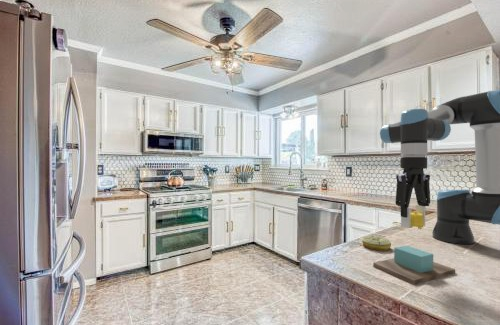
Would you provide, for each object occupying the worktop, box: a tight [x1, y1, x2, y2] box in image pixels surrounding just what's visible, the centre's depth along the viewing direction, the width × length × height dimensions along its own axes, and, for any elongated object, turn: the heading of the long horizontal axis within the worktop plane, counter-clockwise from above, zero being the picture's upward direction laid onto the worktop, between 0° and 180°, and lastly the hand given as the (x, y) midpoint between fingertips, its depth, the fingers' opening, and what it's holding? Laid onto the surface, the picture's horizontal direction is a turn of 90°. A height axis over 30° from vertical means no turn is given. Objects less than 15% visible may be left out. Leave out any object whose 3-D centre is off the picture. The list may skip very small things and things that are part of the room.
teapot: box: [410, 210, 424, 230], centre depth 83 cm, size 8×6×5 cm
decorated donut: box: [361, 235, 392, 252], centre depth 106 cm, size 10×11×4 cm
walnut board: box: [372, 257, 456, 285], centre depth 84 cm, size 20×14×1 cm
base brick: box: [393, 245, 434, 273], centre depth 84 cm, size 6×9×5 cm, turn 23°
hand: (413, 225), depth 84 cm, fingers closed on teapot, 7 cm apart
